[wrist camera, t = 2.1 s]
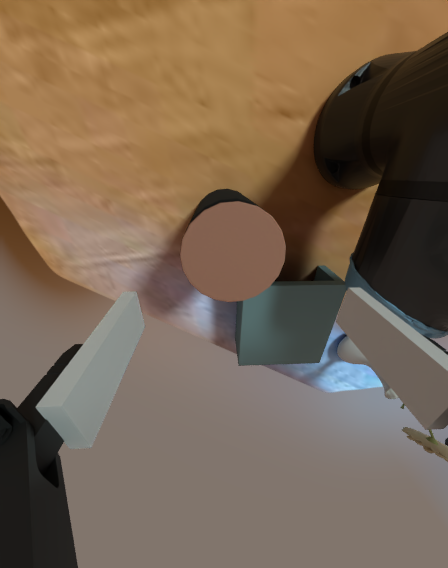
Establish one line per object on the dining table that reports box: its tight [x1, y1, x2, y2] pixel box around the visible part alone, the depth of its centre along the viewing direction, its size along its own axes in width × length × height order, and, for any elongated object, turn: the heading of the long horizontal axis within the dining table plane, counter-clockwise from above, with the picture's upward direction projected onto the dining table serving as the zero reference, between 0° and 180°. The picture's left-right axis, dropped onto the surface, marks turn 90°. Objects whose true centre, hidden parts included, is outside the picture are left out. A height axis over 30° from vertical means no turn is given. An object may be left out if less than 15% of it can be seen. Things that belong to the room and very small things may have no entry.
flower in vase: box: [337, 336, 448, 462], centre depth 42 cm, size 13×11×25 cm
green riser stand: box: [235, 266, 346, 366], centre depth 42 cm, size 20×18×8 cm
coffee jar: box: [180, 189, 286, 302], centre depth 27 cm, size 11×11×18 cm
